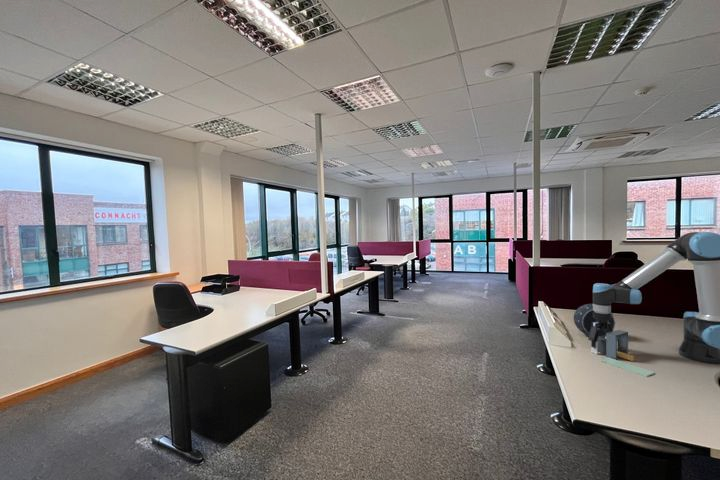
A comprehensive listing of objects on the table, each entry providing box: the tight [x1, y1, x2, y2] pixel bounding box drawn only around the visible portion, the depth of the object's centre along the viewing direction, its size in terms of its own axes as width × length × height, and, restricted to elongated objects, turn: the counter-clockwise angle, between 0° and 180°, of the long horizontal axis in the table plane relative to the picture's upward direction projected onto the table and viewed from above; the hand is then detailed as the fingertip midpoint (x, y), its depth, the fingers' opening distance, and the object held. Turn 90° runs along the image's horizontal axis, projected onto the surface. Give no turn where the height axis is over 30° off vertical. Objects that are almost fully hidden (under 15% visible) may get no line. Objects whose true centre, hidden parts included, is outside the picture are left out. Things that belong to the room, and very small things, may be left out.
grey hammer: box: [597, 337, 635, 362], centre depth 153 cm, size 5×16×7 cm, turn 24°
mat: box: [599, 357, 656, 378], centre depth 140 cm, size 7×18×1 cm, turn 23°
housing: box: [605, 329, 629, 360], centre depth 152 cm, size 12×4×13 cm, turn 113°
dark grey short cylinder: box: [573, 303, 616, 338], centre depth 181 cm, size 11×20×20 cm, turn 78°
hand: (601, 351), depth 158 cm, fingers open, 12 cm apart
